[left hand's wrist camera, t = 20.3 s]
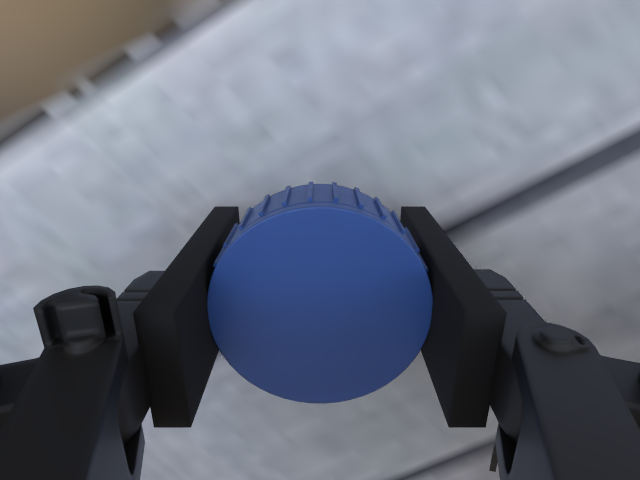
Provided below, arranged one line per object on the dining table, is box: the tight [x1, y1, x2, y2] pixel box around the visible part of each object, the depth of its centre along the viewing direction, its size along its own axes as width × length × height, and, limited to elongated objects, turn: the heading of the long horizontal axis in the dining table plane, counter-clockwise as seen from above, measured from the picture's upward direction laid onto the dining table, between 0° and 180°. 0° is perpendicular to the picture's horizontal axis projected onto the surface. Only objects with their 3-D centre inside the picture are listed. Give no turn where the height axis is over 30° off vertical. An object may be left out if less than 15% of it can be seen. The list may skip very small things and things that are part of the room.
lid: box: [207, 182, 433, 403], centre depth 11 cm, size 6×6×2 cm
